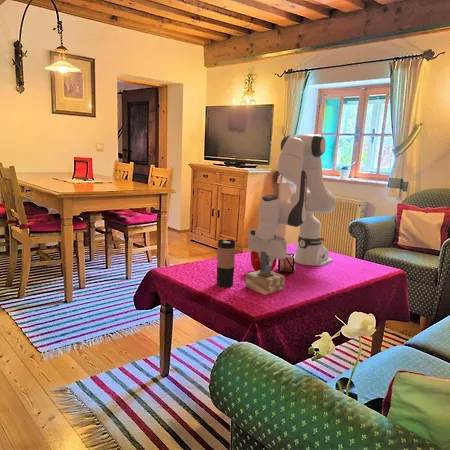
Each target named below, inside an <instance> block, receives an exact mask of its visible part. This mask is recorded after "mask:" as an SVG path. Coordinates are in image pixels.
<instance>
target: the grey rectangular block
mask: <svg viewBox="0 0 450 450" xmlns="http://www.w3.org/2000/svg"><path fill="white" fill-rule="evenodd" d="M269 260H270V258H269V256H267V255H266V252H263V251H261V260H260V274H263V275H267V274H271V266H268V265H267V262H268V261H269Z"/></svg>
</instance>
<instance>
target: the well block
mask: <svg viewBox="0 0 450 450" xmlns="http://www.w3.org/2000/svg"><path fill="white" fill-rule="evenodd" d="M285 279H286V276H285V275H283V274H280V273H277V272H275V271H273V270H272V271H271V274H267V275H263V274H260V270H259V271H255V270H254V271H251V272H247V273H245V288H248V289H250V290H252V291H255V292H257V293H260V294H261V295H264V296H265V295H269V294H272V293H275V292H279V291H283V290H285Z"/></svg>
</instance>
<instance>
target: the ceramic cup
mask: <svg viewBox="0 0 450 450" xmlns="http://www.w3.org/2000/svg"><path fill="white" fill-rule="evenodd" d="M277 260H278V259H277V258H275V259H274V261H273V264H272V266H271V271H272V272H273V270H274V268H275V267H276V264H277ZM250 264H251V266H252V268H253V271H254V272H255V271H259V270H260V258H259V255H258V252H255V251H252V250H250Z"/></svg>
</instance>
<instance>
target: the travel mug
mask: <svg viewBox="0 0 450 450" xmlns="http://www.w3.org/2000/svg"><path fill="white" fill-rule="evenodd" d="M235 251H236V241H235V240H233V239H229V238H228V239H226V240H223V239H221V238H220V239H219V240H218V241H217V254H216V255H217V257H216V258H217V261H216V286H218V287H220V288H232V287H233V285H234V275H235V260H236V259H235V257H236V255H235V254H236V252H235Z"/></svg>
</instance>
